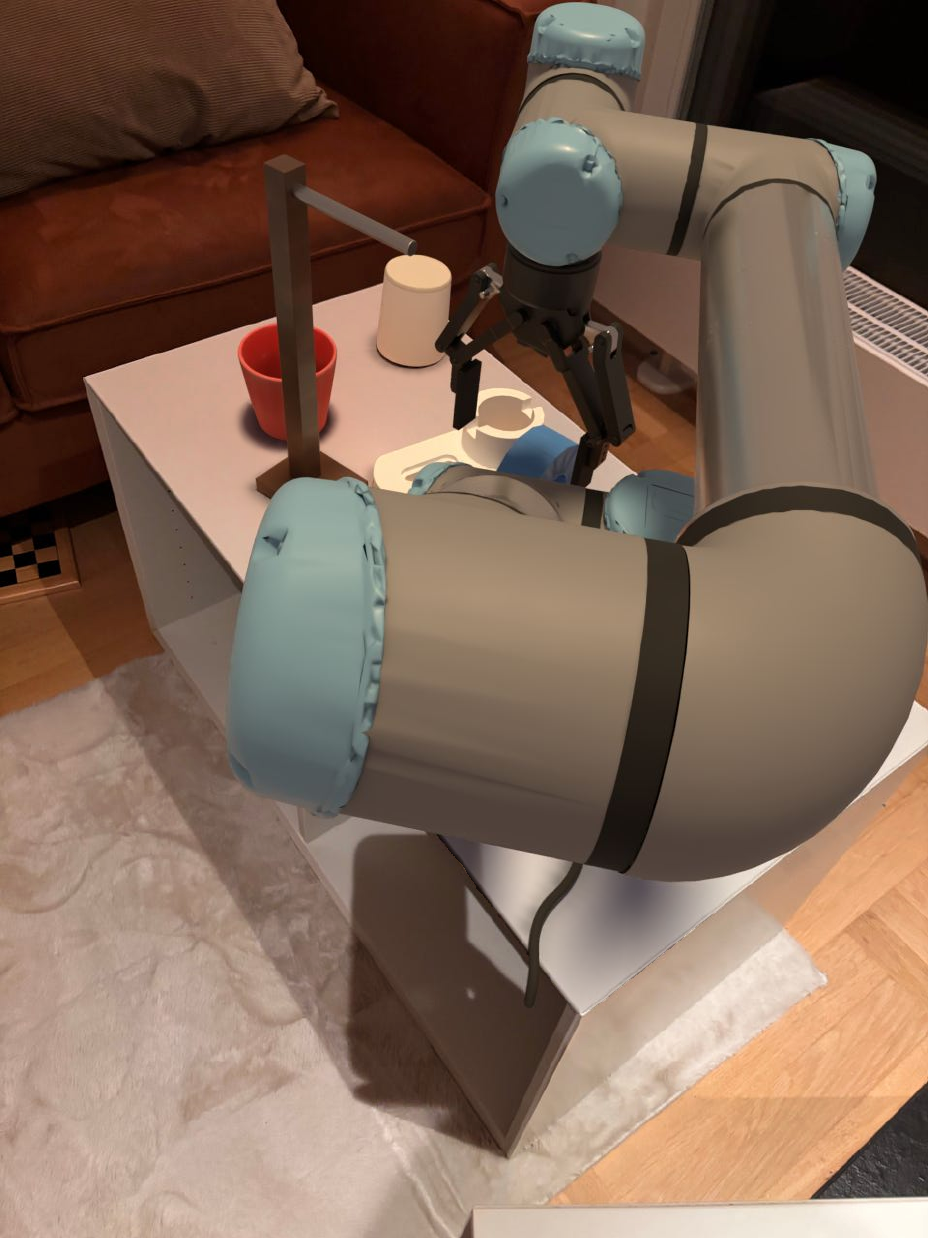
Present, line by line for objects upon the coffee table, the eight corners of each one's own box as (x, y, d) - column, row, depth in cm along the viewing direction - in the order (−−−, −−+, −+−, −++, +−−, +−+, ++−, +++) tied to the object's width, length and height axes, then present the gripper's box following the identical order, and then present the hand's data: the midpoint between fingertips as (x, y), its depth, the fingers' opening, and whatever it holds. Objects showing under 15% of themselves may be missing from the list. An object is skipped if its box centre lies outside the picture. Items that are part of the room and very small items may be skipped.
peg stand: (425, 527, 98) (447, 208, 72) (374, 568, 94) (377, 244, 67) (308, 453, 104) (289, 133, 78) (256, 489, 100) (216, 163, 73)
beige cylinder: (370, 278, 108) (366, 354, 116) (443, 298, 108) (434, 373, 115) (400, 238, 116) (394, 312, 123) (468, 256, 115) (458, 329, 123)
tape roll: (593, 426, 93) (528, 479, 87) (574, 506, 102) (514, 559, 96) (557, 406, 95) (491, 458, 89) (542, 487, 103) (481, 538, 97)
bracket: (507, 426, 110) (514, 379, 105) (550, 470, 106) (560, 423, 101) (359, 479, 102) (359, 431, 97) (399, 528, 98) (401, 481, 93)
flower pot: (357, 414, 110) (357, 343, 102) (301, 463, 103) (295, 392, 96) (286, 380, 112) (280, 309, 105) (226, 427, 106) (215, 355, 99)
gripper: (719, 286, 69) (652, 496, 85) (459, 170, 78) (443, 381, 94) (669, 326, 65) (609, 539, 81) (401, 199, 74) (394, 414, 90)
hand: (520, 454), depth 88 cm, fingers open, 13 cm apart
